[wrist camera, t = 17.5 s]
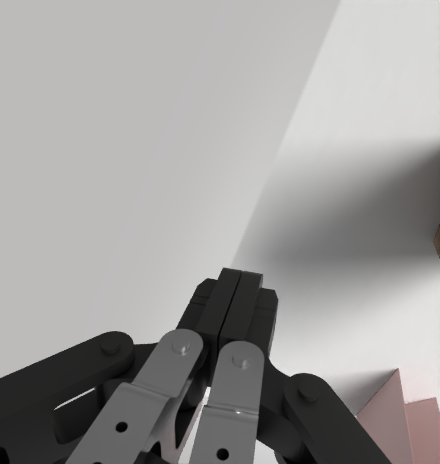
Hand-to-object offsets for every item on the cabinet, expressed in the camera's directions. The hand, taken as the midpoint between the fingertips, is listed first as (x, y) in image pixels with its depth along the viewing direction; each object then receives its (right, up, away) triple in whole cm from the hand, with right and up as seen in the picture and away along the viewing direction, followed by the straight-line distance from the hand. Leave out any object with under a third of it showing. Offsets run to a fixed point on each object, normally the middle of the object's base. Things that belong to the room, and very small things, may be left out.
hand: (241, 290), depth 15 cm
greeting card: (+22, -20, +42) cm, 51 cm away
